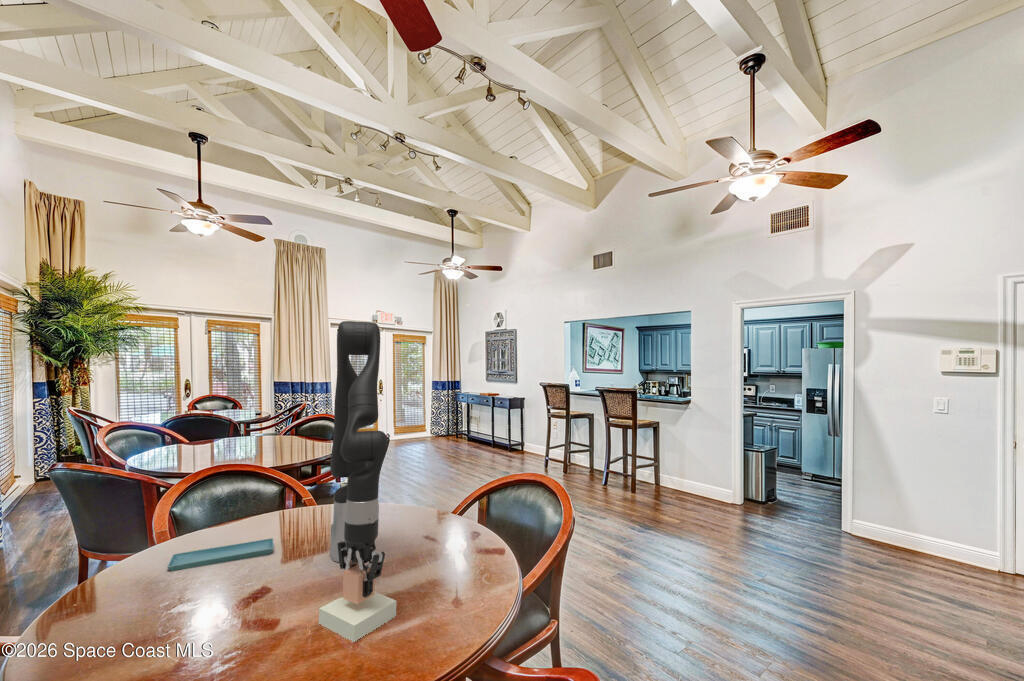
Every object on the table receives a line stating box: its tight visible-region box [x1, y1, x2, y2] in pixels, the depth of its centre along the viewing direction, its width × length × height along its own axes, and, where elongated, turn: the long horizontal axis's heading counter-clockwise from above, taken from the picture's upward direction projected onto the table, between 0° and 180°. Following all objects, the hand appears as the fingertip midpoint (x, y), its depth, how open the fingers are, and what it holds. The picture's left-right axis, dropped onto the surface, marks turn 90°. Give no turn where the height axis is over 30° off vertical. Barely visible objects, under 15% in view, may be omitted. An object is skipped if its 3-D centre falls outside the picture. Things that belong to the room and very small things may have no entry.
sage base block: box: [318, 591, 397, 643], centre depth 102 cm, size 12×12×4 cm
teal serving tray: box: [167, 538, 274, 572], centre depth 133 cm, size 26×9×2 cm, turn 119°
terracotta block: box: [341, 563, 376, 604], centre depth 103 cm, size 5×5×6 cm
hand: (359, 591), depth 102 cm, fingers closed on terracotta block, 5 cm apart
